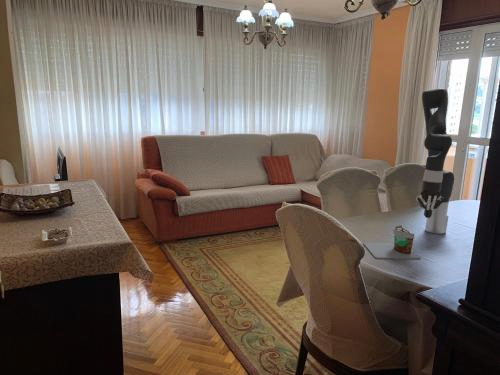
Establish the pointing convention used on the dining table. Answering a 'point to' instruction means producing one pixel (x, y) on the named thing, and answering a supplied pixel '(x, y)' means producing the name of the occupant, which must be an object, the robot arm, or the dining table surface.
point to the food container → (402, 240)
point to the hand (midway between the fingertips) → (427, 217)
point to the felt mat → (388, 251)
